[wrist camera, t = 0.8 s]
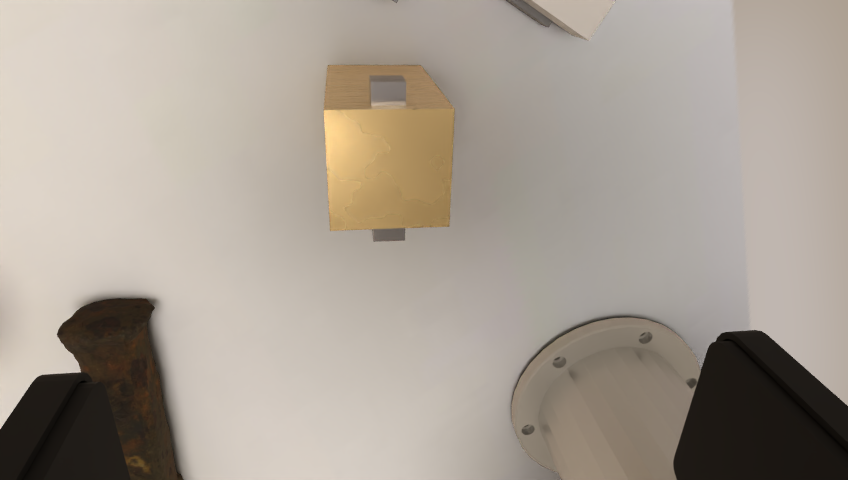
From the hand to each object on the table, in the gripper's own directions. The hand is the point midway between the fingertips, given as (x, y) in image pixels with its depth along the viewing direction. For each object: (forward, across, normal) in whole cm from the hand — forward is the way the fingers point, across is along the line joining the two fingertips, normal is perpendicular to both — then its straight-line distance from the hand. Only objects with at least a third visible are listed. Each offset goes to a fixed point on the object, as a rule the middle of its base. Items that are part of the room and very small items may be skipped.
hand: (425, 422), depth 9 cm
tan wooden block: (+22, -1, 0) cm, 22 cm away
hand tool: (+22, +12, +20) cm, 32 cm away
